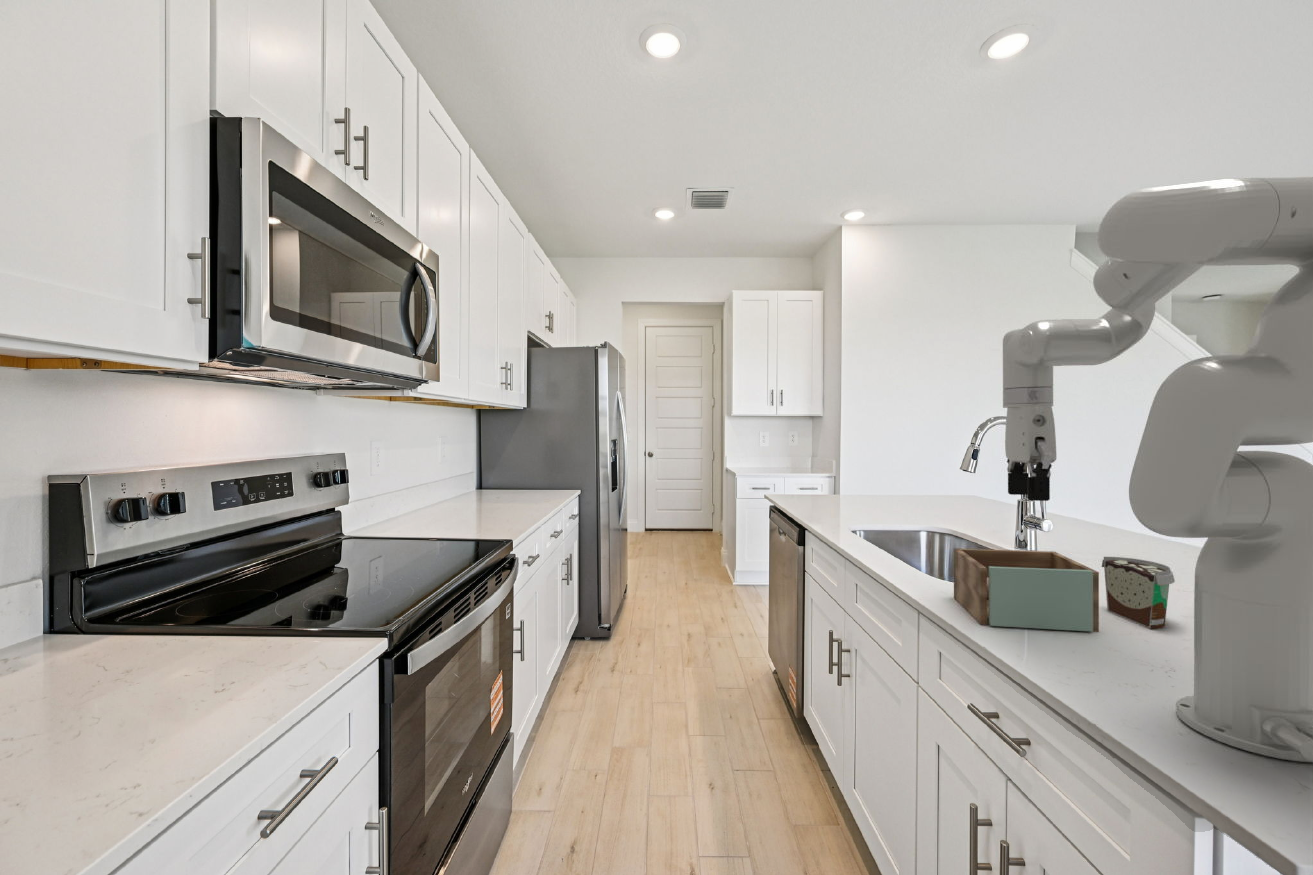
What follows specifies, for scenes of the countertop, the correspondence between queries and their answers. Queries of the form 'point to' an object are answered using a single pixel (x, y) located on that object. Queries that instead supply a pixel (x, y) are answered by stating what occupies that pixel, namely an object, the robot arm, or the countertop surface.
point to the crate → (976, 562)
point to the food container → (1137, 590)
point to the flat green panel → (1041, 598)
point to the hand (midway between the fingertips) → (1027, 496)
